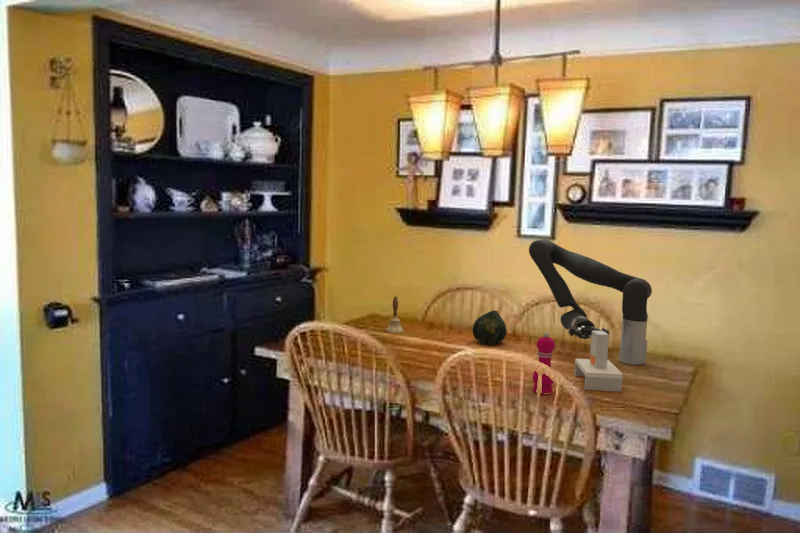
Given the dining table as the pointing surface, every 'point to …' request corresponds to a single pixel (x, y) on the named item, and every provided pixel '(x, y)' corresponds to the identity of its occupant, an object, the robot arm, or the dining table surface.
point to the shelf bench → (599, 376)
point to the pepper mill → (544, 361)
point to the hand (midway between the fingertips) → (593, 336)
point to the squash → (489, 328)
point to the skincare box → (599, 349)
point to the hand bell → (395, 320)
